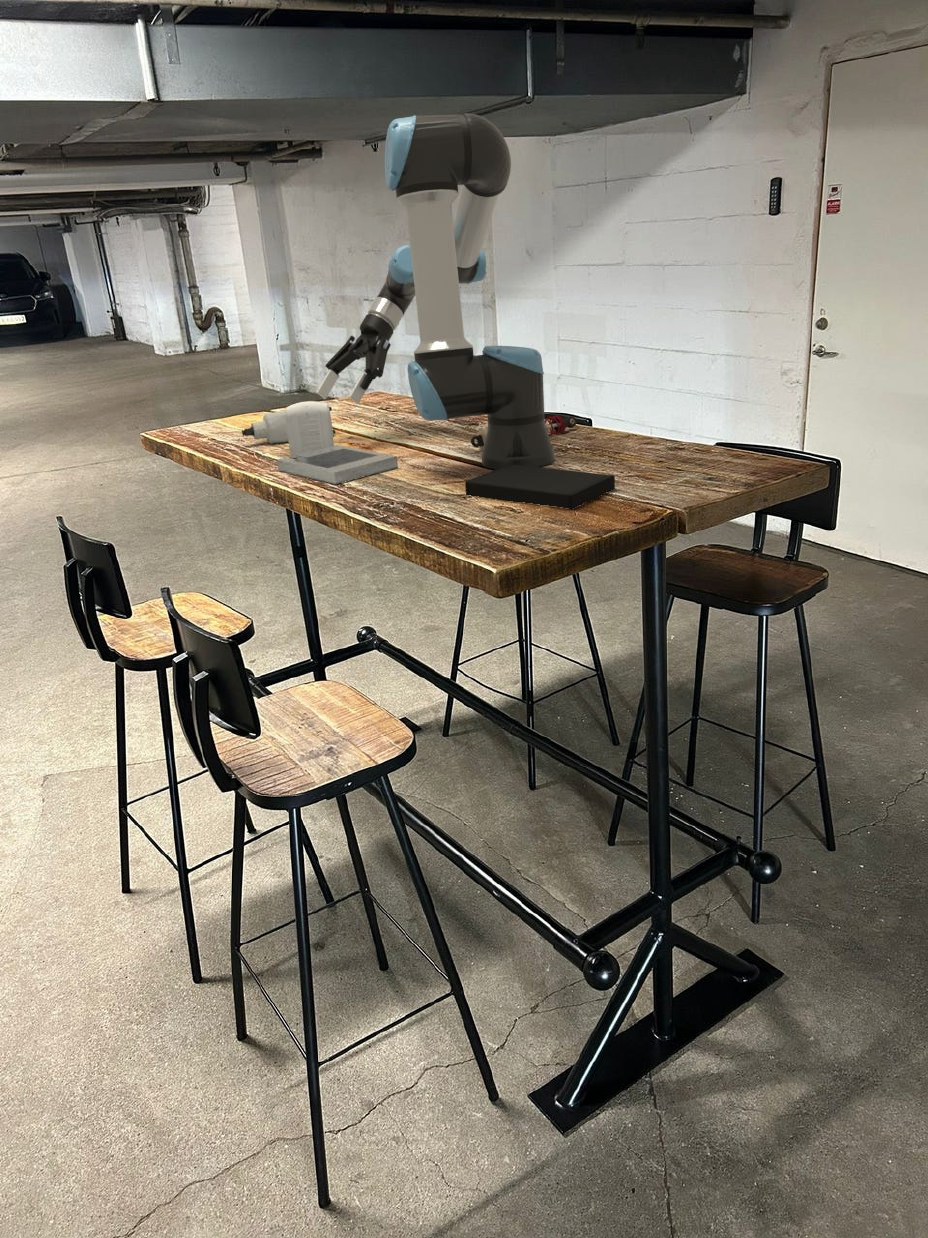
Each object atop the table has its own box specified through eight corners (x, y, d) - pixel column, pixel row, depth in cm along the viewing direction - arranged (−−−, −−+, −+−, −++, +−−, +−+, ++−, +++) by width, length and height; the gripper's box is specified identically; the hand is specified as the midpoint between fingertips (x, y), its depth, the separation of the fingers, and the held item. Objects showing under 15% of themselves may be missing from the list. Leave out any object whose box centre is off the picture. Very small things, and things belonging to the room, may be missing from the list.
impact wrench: (228, 425, 239) (241, 414, 215) (310, 413, 246) (331, 401, 223) (234, 455, 240) (248, 448, 217) (316, 442, 248) (338, 434, 225)
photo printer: (335, 451, 209) (328, 398, 204) (335, 455, 205) (328, 401, 200) (291, 456, 208) (283, 402, 203) (290, 460, 204) (282, 405, 199)
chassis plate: (398, 467, 188) (396, 456, 187) (335, 484, 179) (334, 472, 178) (338, 455, 204) (337, 445, 203) (278, 470, 194) (276, 459, 193)
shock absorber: (566, 414, 213) (463, 434, 197) (578, 408, 208) (474, 429, 193) (571, 433, 213) (469, 455, 198) (583, 428, 209) (479, 450, 194)
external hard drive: (572, 512, 150) (572, 495, 149) (465, 497, 164) (464, 481, 163) (614, 491, 160) (614, 475, 159) (510, 478, 174) (510, 463, 173)
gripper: (423, 334, 204) (379, 411, 201) (360, 331, 222) (318, 402, 219) (403, 312, 199) (356, 392, 196) (340, 311, 217) (297, 384, 214)
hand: (336, 397), depth 208 cm, fingers open, 13 cm apart
